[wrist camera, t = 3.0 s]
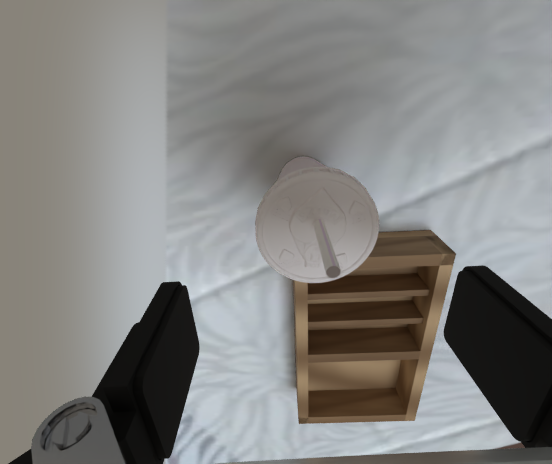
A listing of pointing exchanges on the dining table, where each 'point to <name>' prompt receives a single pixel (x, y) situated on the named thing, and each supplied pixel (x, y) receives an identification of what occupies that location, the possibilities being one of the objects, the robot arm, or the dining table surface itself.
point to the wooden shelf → (371, 332)
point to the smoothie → (316, 222)
